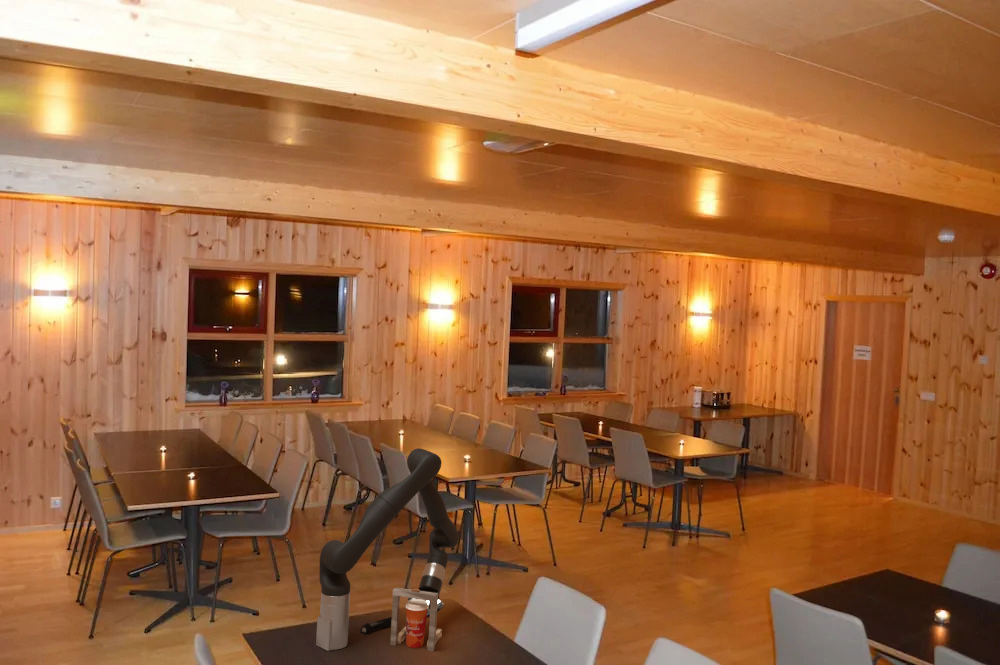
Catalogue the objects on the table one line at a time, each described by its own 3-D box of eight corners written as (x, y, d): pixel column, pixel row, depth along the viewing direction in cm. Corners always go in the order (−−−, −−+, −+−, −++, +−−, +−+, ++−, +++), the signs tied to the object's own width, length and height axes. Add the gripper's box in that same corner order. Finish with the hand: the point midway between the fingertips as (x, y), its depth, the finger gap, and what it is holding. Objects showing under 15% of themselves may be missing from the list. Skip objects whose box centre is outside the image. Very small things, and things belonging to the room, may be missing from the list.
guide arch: (403, 630, 271) (406, 576, 271) (445, 637, 267) (448, 581, 267) (389, 645, 258) (392, 587, 258) (432, 652, 255) (435, 593, 255)
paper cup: (399, 647, 257) (401, 604, 257) (408, 638, 265) (410, 597, 264) (421, 651, 255) (423, 608, 255) (430, 642, 262) (432, 600, 262)
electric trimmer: (401, 625, 277) (401, 616, 277) (366, 636, 265) (366, 626, 265) (394, 622, 279) (394, 613, 279) (359, 632, 268) (359, 623, 268)
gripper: (412, 571, 274) (397, 619, 262) (448, 576, 271) (435, 625, 259) (416, 582, 279) (402, 629, 268) (452, 586, 276) (439, 635, 265)
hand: (419, 627), depth 263 cm, fingers closed
